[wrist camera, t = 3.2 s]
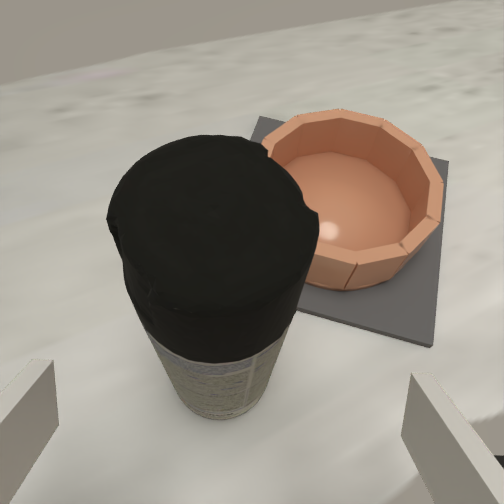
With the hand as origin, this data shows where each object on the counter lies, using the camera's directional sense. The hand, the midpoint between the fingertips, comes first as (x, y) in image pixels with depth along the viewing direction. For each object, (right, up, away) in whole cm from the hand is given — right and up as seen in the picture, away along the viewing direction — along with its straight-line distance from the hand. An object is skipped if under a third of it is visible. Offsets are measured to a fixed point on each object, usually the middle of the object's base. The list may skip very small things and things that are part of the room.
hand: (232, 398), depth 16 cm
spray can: (-1, -3, +15) cm, 15 cm away
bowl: (+8, +9, +21) cm, 24 cm away
